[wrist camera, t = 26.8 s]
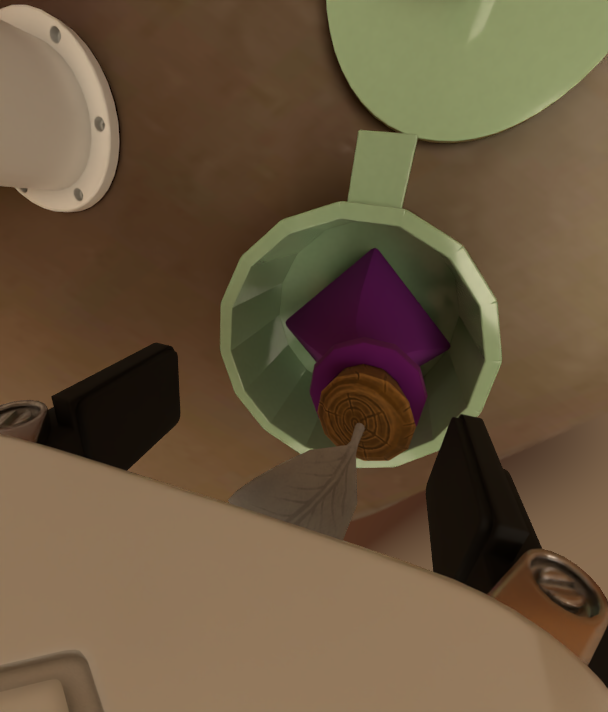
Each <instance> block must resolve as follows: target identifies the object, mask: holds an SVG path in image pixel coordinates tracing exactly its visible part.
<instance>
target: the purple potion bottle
mask: <svg viewBox="0 0 608 712" xmlns="http://www.w3.org/2000/svg"><path fill="white" fill-rule="evenodd" d="M285 323H286V326H287V327H288V329H289V330H290V331H291V332H292V333H293V335H294V336H295V337H296V338H297V339H298V341H299V342H300V343H301V344H302V345H303V347H304V348H305V349H306V350H307V351H308V353H309V354H310V355H311V356H312V357H313V359H314V360H315V361H316V363H315V364H314V369H313V375H312V380H311V385H310V395H311V398H312V401H313V404H314V407H315V409H316V412H317V415H318V418H319V419H320V422H321V425H322V428H323V431H324V434H325V435H326V436H327V437H328V438H329V439H330V440H331V441H332V442H333V443H334V444H335V445H336V447H328V448H320V449H313V450H309V451H307V452H305V453H302V454H300V455H298V456H296V457H294V458H292V459H290V460H288V461H286V462H283V463H281V464H279V465H277V466H275V467H274V468H272V469H270V470H268V471H267V472H265V473H263V474H261V475H260V476H258V477H256V478H254V479H253V480H252V481H250V482H249V483H247V484H246V485H244V486H243V487H242V488H240V489H239V490H237V491H236V492H235V493H234V494H233V495H232V496H231V497H230V499H229V500H228V501H229V502H230V504H233V505H236V506H239V507H242V508H245V509H248V510H251V511H254V512H257V513H261V514H264V515H267V516H270V517H273V518H276V519H279V520H282V521H285V522H288V523H291V524H294V525H297V526H300V527H303V528H306V529H309V530H312V531H315V532H319V533H322V534H325V535H328V536H331V537H334V538H337V539H340V540H343V538H344V536H345V533H346V530H347V528H348V526H349V523H350V520H351V518H352V515H353V513H354V510H355V508H356V505H357V481H356V458H359V459H361V460H363V461H389V460H391V459H393V458H394V457H396V456H398V455H399V454H401V453H402V452H404V451H406V450H407V449H408V448H409V445H410V442H411V440H412V437H413V434H414V431H415V429H416V426H417V425H418V422H419V419H420V416H421V414H422V411H423V408H424V405H425V402H426V400H427V397H428V395H427V391H426V387H425V383H424V380H423V376H422V372H421V368H420V366H422V365H423V364H425V363H427V362H429V361H430V360H432V359H434V358H435V357H437V356H439V355H440V354H442V353H444V352H445V351H447V350H448V349H449V348H450V347H451V346H450V343H449V342H448V340H447V339H446V338H445V336H444V335H443V334H442V332H441V331H440V330H439V328H438V327H437V326H436V324H435V323H434V322H433V320H432V319H431V318H430V317H429V315H428V314H427V313H426V311H425V310H424V309H423V307H422V306H421V305H420V303H419V302H418V301H417V299H416V298H415V297H414V296H413V294H412V293H411V292H410V290H409V289H408V288H407V286H406V285H405V284H404V282H403V281H402V280H401V278H400V277H399V276H398V275H397V273H396V272H395V271H394V269H393V268H392V267H391V265H390V264H389V263H388V261H387V260H386V259H385V257H384V256H383V255H382V254H381V252H380V251H379V250H378V249H377V248H373V249H371V250H370V251H368V252H367V253H366V254H365V255H364V256H363V257H361V258H360V259H359V260H358V261H357V262H355V263H354V264H353V265H352V266H351V267H349V268H348V269H347V270H346V271H345V272H343V273H342V274H341V275H340V276H339V277H337V278H336V279H335V280H334V281H333V282H331V283H330V284H329V285H328V286H327V287H325V288H324V289H323V290H322V291H321V292H319V293H318V294H317V295H316V296H315V297H313V298H312V299H311V300H310V301H309V302H307V303H306V304H305V305H304V306H303V307H301V308H300V309H299V310H298V311H297V312H295V313H294V314H293V315H292V316H291V317H289V318H288V319H287V320H286V322H285Z"/></svg>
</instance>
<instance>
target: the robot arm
mask: <svg viewBox="0 0 608 712" xmlns="http://www.w3.org/2000/svg"><path fill="white" fill-rule="evenodd" d="M119 143H120V142H119V125H118V118H117V113H116V108H115V103H114V100H113V97H112V94H111V91H110V87H109V84H108V82H107V80H106V78H105V75H104V73H103V71H102V69H101V67H100V65H99V63H98V61H97V60H96V58H95V57H94V55H93V54H92V52H91V51H90V49H89V48H88V46H87V45H86V44H85V43H84V42H83V40H82V39H81V38H80V37H79V36H78V35H77V34H76V33H75V32H74V31H73V30H72V29H71V28H69V27H68V26H67V25H66V24H64V23H63V22H62V21H60V20H59V19H57V18H55V17H53V16H51V15H50V14H48V13H46V12H44V11H43V10H41V9H38V8H35V7H32V6H28V5H10V6H7V7H4V8H2V9H0V186H6V187H15V189H16V190H17V191H18V192H19V193H21V194H22V195H23V196H24V197H26V198H27V199H28V200H30V201H31V202H33V203H35V204H36V205H38V206H40V207H42V208H45V209H48V210H52V211H56V212H77V211H82V210H85V209H87V208H90V207H92V206H93V205H94V204H96V203H97V202H98V201H99V200H101V198H102V197H103V196H104V194H105V193H106V192H107V190H108V189H109V187H110V184H111V182H112V180H113V178H114V175H115V171H116V167H117V163H118V156H119ZM51 397H52V401H53V405H54V407H53V408H51V409H49V410H48V409H47V406H46V405H45V404H44V403H42V402H39V401H33V400H23V401H15V402H10V403H7V404H3V405H0V712H608V600H607V598H606V597H605V595H604V594H603V592H602V590H601V589H600V587H599V586H598V585H597V584H596V583H595V582H594V581H593V579H592V578H591V577H590V576H589V575H588V574H587V573H586V572H584V571H583V570H582V569H581V568H580V567H578V566H577V565H576V564H574V563H573V562H571V561H570V560H568V559H567V558H565V557H563V556H561V555H559V554H556V553H554V552H552V551H548V550H544V549H542V547H541V545H540V543H539V540H538V538H537V536H536V534H535V531H534V529H533V526H532V524H531V522H530V519H529V517H528V515H527V512H526V510H525V508H524V506H523V503H522V501H521V499H520V496H519V494H518V492H517V489H516V487H515V485H514V482H513V480H512V478H511V476H510V474H509V472H508V471H507V470H505V469H503V468H502V466H501V463H500V461H499V458H498V456H497V453H496V451H495V449H494V446H493V444H492V441H491V439H490V436H489V434H488V432H487V429H486V427H485V424H484V422H483V420H482V419H481V418H477V417H473V416H469V415H464V414H460V415H459V417H458V418H456V417H452V418H451V420H450V423H449V426H448V428H447V431H446V434H445V436H444V439H443V442H442V445H441V447H440V450H439V453H438V455H437V458H436V461H435V463H434V466H433V469H432V472H431V474H430V477H429V480H428V483H427V487H426V500H427V511H428V521H429V531H430V542H431V551H432V562H433V572H432V571H430V570H427V569H424V568H421V567H419V566H416V565H413V564H411V563H408V562H405V561H402V560H400V559H397V558H394V557H390V556H388V555H385V554H382V553H379V552H375V551H373V550H370V549H367V548H364V547H361V546H358V545H355V544H352V543H349V542H346V541H343V540H340V539H337V538H334V537H331V536H328V535H325V534H322V533H319V532H315V531H312V530H309V529H306V528H303V527H300V526H297V525H294V524H291V523H288V522H285V521H282V520H279V519H276V518H273V517H270V516H267V515H264V514H261V513H257V512H254V511H251V510H248V509H245V508H242V507H239V506H236V505H233V504H230V503H226V502H223V501H220V500H217V499H214V498H211V497H208V496H205V495H202V494H198V493H195V492H192V491H189V490H186V489H183V488H180V487H177V486H173V485H170V484H167V483H164V482H161V481H158V480H155V479H151V478H148V477H145V476H142V475H139V474H135V473H132V472H129V471H127V470H128V469H129V468H130V467H131V466H132V465H133V464H134V463H136V462H137V461H138V460H139V459H140V458H141V457H142V456H143V455H144V454H145V453H146V452H147V451H148V450H149V449H151V448H152V447H153V446H154V445H155V444H156V443H157V442H158V441H159V440H160V439H161V438H162V437H163V436H164V435H165V434H167V433H168V432H169V431H170V430H171V429H172V428H173V427H174V426H175V425H176V424H177V423H178V421H179V419H180V396H179V375H178V355H177V352H175V351H174V349H173V347H172V346H168V345H164V344H160V343H153V344H151V345H150V346H148V347H146V348H144V349H142V350H140V351H138V352H136V353H134V354H132V355H130V356H128V357H126V358H125V359H123V360H121V361H119V362H117V363H115V364H113V365H111V366H109V367H107V368H105V369H103V370H101V371H100V372H98V373H96V374H94V375H92V376H90V377H88V378H86V379H84V380H82V381H80V382H78V383H76V384H74V385H73V386H71V387H69V388H67V389H65V390H63V391H61V392H59V393H57V394H55V395H53V396H51Z"/></svg>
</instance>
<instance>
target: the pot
mask: <svg viewBox="0 0 608 712" xmlns="http://www.w3.org/2000/svg"><path fill="white" fill-rule="evenodd" d="M417 141H418V135H417V134H406V133H394V132H381V131H369V130H359V131H358V136H357V142H356V149H355V155H354V161H353V168H352V174H351V180H350V186H349V193H348V199H347V201H341V202H340V201H338V202H335V203H332V204H328V205H325V206H322V207H319V208H316V209H313V210H310V211H306V212H303V213H300V214H297V215H294V216H291V217H287V218H284V219H283V220H280V221H279V222H278V223H277V224H276V225H275V226H274V227H273V228H272V229H271V230H269V231H268V232H267V233H266V234H265V235H264V236H263V237H262V238H261V239H260V240H258V241H257V242H256V243H255V244H254V245H253V246H252V247H251V248H250V249H249V250H247V251H246V252H245V253H244V254H243V255H242V256H241V258H240V260H239V262H238V264H237V267H236V269H235V271H234V274H233V276H232V278H231V280H230V283H229V285H228V287H227V290H226V292H225V294H224V296H223V299H222V301H221V312H220V352H221V355H222V358H223V361H224V364H225V366H226V369H227V372H228V375H229V378H230V380H231V383H232V386H233V389H234V392H235V393H236V395H237V396H238V398H239V399H240V400H241V401H242V403H243V404H244V405H245V406H246V408H247V409H248V410H249V411H250V413H251V414H252V415H253V416H254V418H255V419H256V420H257V421H258V423H259V424H260V425H261V426H262V428H263V429H264V430H266V431H267V432H269V433H270V434H272V435H273V436H275V437H276V438H278V439H279V440H281V441H282V442H283V443H285V444H286V445H288V446H289V447H291V448H292V449H294V450H295V451H297V452H298V453H300V454H302V453H305V452H307V451H309V450H313V449H320V448H328V447H336V445H335V444H334V443H333V442H332V441H331V440H330V439H329V438H328V437H327V436H326V435H325V434H324V431H323V428H322V425H321V422H320V419H319V418H318V415H317V412H316V409H315V407H314V404H313V401H312V398H311V395H310V385H311V380H312V375H313V369H314V364H315V363H316V361H315V360H314V359H313V357H312V356H311V355H310V354H309V353H308V351H307V350H306V349H305V348H304V347H303V345H302V344H301V343H300V342H299V341H298V339H297V338H296V337H295V336H294V335H293V333H292V332H291V331H290V330H289V329H288V327H287V326H286V323H285V322H286V320H287V319H288V318H289V317H291V316H292V315H293V314H294V313H295V312H297V311H298V310H299V309H300V308H301V307H303V306H304V305H305V304H306V303H307V302H309V301H310V300H311V299H312V298H313V297H315V296H316V295H317V294H318V293H319V292H321V291H322V290H323V289H324V288H325V287H327V286H328V285H329V284H330V283H331V282H333V281H334V280H335V279H336V278H337V277H339V276H340V275H341V274H342V273H343V272H345V271H346V270H347V269H348V268H349V267H351V266H352V265H353V264H354V263H355V262H357V261H358V260H359V259H360V258H361V257H363V256H364V255H365V254H366V253H367V252H368V251H370V250H371V249H373V248H377V249H378V250H379V251H380V252H381V254H382V255H383V256H384V257H385V259H386V260H387V261H388V263H389V264H390V265H391V267H392V268H393V269H394V271H395V272H396V273H397V275H398V276H399V277H400V278H401V280H402V281H403V282H404V284H405V285H406V286H407V288H408V289H409V290H410V292H411V293H412V294H413V296H414V297H415V298H416V299H417V301H418V302H419V303H420V305H421V306H422V307H423V309H424V310H425V311H426V313H427V314H428V315H429V317H430V318H431V319H432V320H433V322H434V323H435V324H436V326H437V327H438V328H439V330H440V331H441V332H442V334H443V335H444V336H445V338H446V339H447V340H448V342H449V343H450V346H451V347H450V348H449V349H448V350H447V351H445V352H444V353H442V354H440V355H439V356H437V357H435V358H434V359H432V360H430V361H429V362H427V363H425V364H423V365H422V366H420V368H421V372H422V376H423V380H424V383H425V387H426V391H427V395H428V397H427V400H426V402H425V405H424V408H423V411H422V414H421V416H420V419H419V422H418V425H417V426H416V429H415V431H414V434H413V437H412V440H411V442H410V445H409V448H408V449H407V450H406V451H404V452H402V453H401V454H399V455H398V456H396V457H394V458H393V459H391V460H389V461H363V460H361V459H359V458H356V468H380V467H395V466H396V467H397V466H400V465H402V464H405V463H408V462H410V461H413V460H415V459H418V458H421V457H423V456H426V455H428V454H431V453H434V452H436V451H439V450H440V447H441V445H442V442H443V439H444V436H445V434H446V431H447V428H448V426H449V423H450V420H451V418H452V417H456V418H458V417H459V415H460V414H464V415H469V416H473V417H477V416H478V415H480V412H482V410H483V407H484V405H485V402H486V400H487V397H488V395H489V392H490V390H491V388H492V385H493V383H494V380H495V378H496V375H497V373H498V370H499V368H500V366H501V363H502V350H501V337H500V325H499V312H498V302H497V299H496V297H495V296H494V294H493V292H492V291H491V289H490V288H489V286H488V284H487V283H486V281H485V279H484V278H483V276H482V275H481V273H480V271H479V270H478V268H477V266H476V265H475V263H474V262H473V260H472V258H471V257H470V255H469V253H468V252H467V250H466V249H465V247H464V246H462V244H461V243H459V242H458V241H456V240H454V239H453V238H451V237H450V236H448V235H447V234H445V233H443V232H442V231H440V230H439V229H437V228H435V227H434V226H432V225H431V224H429V223H428V222H426V221H424V220H423V219H421V218H420V217H418V216H416V215H415V214H413V213H412V212H410V211H409V210H406V209H403V204H404V199H405V195H406V190H407V186H408V182H409V177H410V173H411V168H412V164H413V159H414V155H415V150H416V146H417Z"/></svg>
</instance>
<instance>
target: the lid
mask: <svg viewBox="0 0 608 712" xmlns="http://www.w3.org/2000/svg"><path fill="white" fill-rule="evenodd" d="M326 8H327V15H328V23H329V30H330V35H331V39H332V43H333V47H334V51H335V54H336V56H337V59H338V62H339V64H340V67H341V70H342V72H343V74H344V76H345V78H346V80H347V82H348V84H349V86H350V88H351V89H352V91H353V93H354V94H355V95H356V97H357V98H358V99H359V101H360V102H361V104H362V105H363V106H364V107H365V108H366V109H367V110H368V111H369V112H370V113H371V114H372V115H373V116H374V117H375V118H376V119H378V120H379V121H380V122H382V123H383V124H384V125H386V126H387V127H388V128H390V129H392V130H394V131H396V132H398V133H406V134H417V135H418V140H421V141H427V142H433V143H460V142H467V141H474V140H478V139H482V138H485V137H489V136H493V135H496V134H498V133H501V132H503V131H506V130H508V129H511V128H513V127H515V126H517V125H519V124H521V123H523V122H524V121H526V120H528V119H530V118H532V117H534V116H535V115H537V114H538V113H540V112H541V111H543V110H544V109H546V108H547V107H549V106H550V105H552V104H553V103H555V102H556V101H557V100H558V99H560V98H561V97H562V96H563V95H565V94H566V93H567V92H568V91H569V90H571V89H572V88H573V87H574V86H575V85H577V84H578V83H579V82H580V81H581V80H582V79H583V78H584V77H585V76H586V75H587V74H588V73H589V72H590V71H591V70H592V69H593V68H594V67H595V66H596V65H597V64H598V63H599V62H600V61H601V60H602V59H603V58H604V57H605V56H606V54H607V53H608V0H326Z"/></svg>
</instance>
